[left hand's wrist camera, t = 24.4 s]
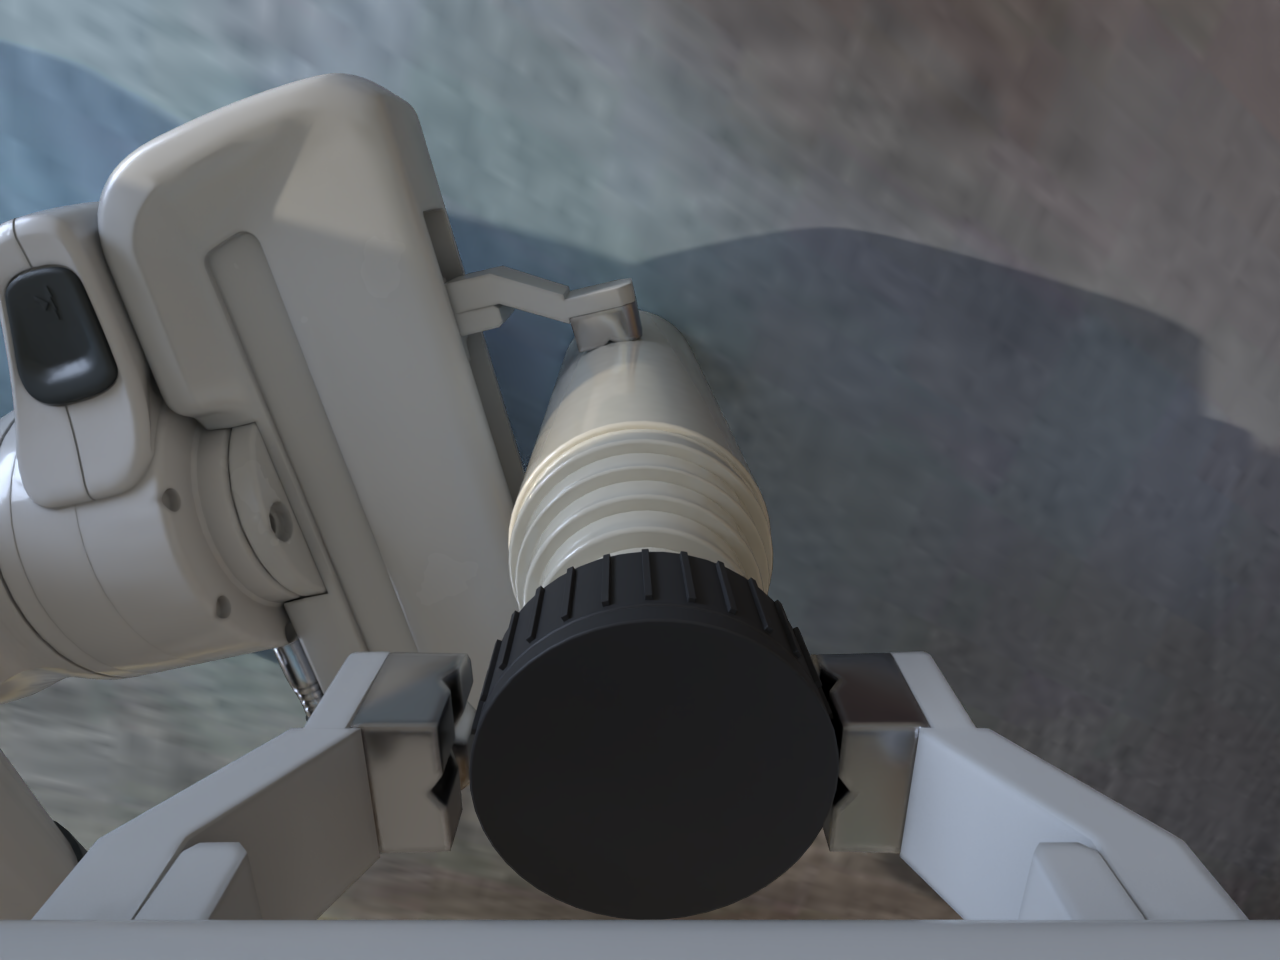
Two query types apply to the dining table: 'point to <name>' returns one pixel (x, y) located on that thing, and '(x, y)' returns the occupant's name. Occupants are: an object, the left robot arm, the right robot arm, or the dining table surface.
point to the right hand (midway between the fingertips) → (661, 410)
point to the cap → (652, 739)
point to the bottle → (635, 468)
